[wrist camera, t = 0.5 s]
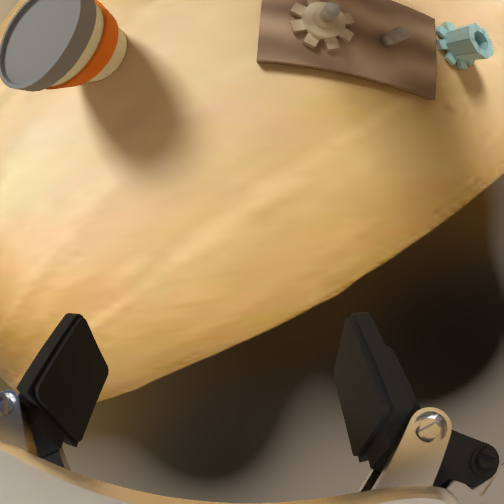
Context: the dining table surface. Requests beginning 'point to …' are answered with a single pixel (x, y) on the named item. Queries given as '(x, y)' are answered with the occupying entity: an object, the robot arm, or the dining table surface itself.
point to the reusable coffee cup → (60, 45)
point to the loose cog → (464, 44)
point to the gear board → (352, 40)
